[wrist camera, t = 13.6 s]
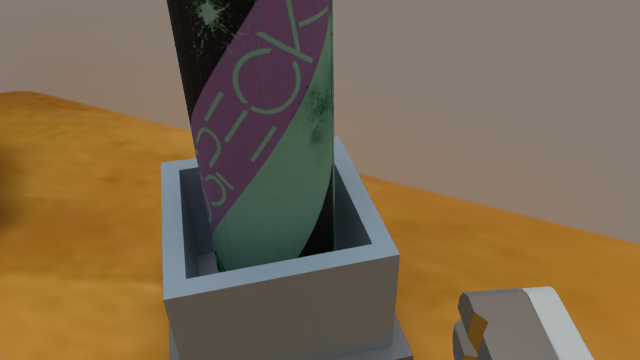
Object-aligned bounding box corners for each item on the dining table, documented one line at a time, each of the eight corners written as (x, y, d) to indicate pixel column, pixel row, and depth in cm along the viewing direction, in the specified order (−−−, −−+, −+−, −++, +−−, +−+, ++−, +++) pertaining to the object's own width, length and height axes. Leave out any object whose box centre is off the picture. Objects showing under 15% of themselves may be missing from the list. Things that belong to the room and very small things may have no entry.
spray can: (212, 260, 28) (117, -228, 16) (313, 234, 29) (294, -232, 18) (236, 344, 24) (131, -231, 12) (353, 309, 25) (362, -236, 13)
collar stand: (174, 419, 22) (142, 319, 18) (169, 249, 30) (145, 157, 26) (412, 364, 24) (424, 263, 20) (347, 217, 31) (348, 127, 28)
